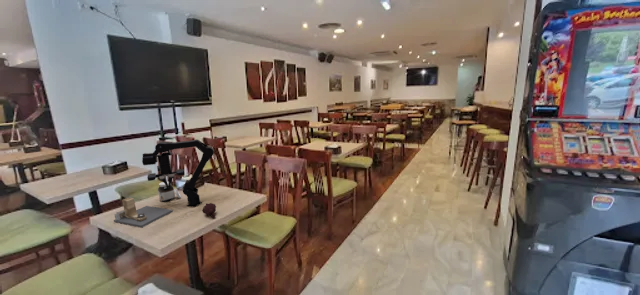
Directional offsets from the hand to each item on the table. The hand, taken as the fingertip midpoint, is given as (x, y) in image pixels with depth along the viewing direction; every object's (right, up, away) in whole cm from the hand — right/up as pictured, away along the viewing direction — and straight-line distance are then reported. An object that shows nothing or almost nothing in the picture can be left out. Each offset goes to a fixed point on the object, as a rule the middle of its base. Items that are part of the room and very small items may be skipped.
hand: (168, 188), depth 157 cm
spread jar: (-8, -10, +17) cm, 22 cm away
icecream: (+28, -14, -7) cm, 32 cm away
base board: (-10, -15, -7) cm, 19 cm away
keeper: (-15, -15, -10) cm, 23 cm away
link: (-13, -15, -11) cm, 22 cm away
